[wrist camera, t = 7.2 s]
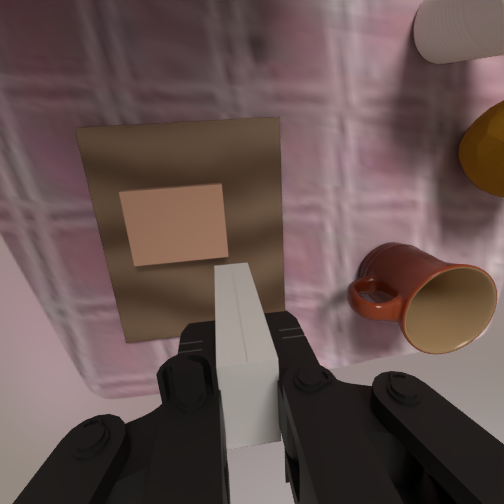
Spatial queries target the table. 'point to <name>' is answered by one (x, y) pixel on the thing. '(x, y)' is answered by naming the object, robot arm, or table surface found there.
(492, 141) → the apple
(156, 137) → the board
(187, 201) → the tile
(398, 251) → the mug
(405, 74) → the table surface
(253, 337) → the robot arm
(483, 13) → the cup
